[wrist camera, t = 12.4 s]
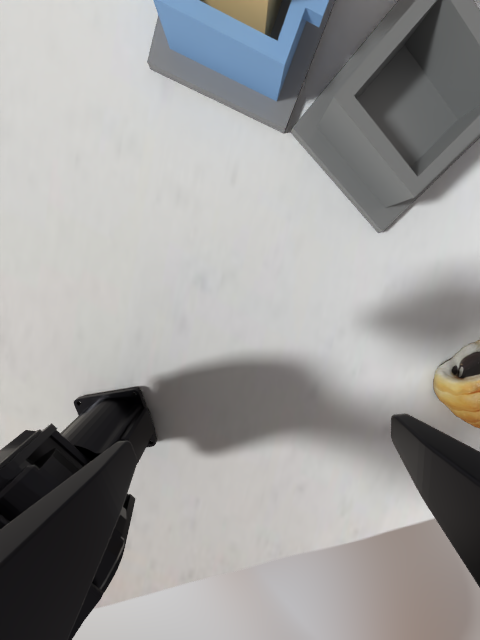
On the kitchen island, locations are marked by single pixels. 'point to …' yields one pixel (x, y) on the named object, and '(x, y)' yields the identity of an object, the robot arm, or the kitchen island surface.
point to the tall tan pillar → (250, 12)
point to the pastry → (461, 384)
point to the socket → (399, 107)
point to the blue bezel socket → (239, 55)
